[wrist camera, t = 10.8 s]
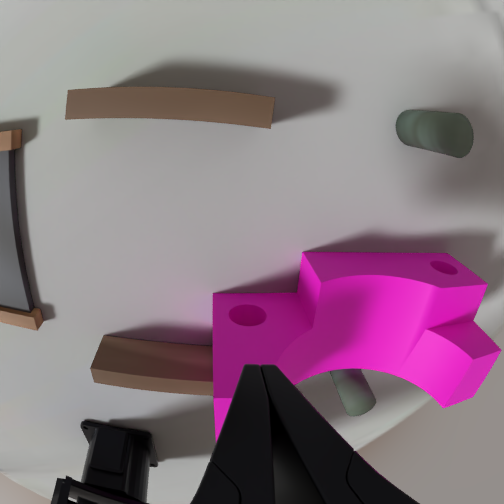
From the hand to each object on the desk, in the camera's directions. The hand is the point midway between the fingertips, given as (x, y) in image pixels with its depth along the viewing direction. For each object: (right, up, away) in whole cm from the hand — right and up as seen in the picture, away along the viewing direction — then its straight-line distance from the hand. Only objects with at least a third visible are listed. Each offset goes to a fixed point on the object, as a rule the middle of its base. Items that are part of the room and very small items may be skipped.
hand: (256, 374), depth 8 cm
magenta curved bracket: (+5, +1, +10) cm, 12 cm away
